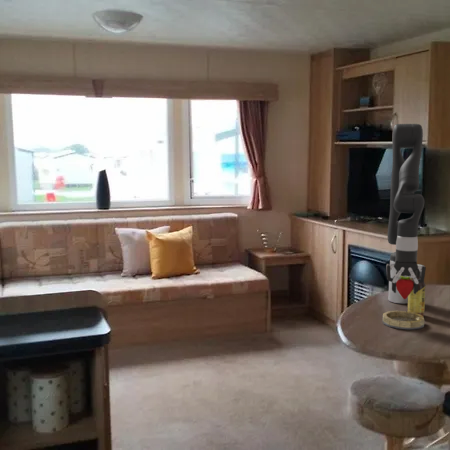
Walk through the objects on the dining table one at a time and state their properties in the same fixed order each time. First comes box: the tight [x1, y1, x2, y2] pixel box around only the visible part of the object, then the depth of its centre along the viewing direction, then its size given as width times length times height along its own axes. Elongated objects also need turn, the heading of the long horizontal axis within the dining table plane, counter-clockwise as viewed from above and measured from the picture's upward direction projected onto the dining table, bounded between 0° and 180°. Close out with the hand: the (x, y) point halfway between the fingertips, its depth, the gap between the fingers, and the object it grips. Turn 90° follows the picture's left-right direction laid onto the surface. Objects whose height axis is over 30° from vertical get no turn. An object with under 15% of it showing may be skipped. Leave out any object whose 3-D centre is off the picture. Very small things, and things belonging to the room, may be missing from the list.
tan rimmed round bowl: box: [381, 310, 425, 331], centre depth 217 cm, size 15×15×3 cm
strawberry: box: [396, 276, 414, 299], centre depth 215 cm, size 6×8×10 cm
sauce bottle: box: [407, 263, 426, 317], centre depth 227 cm, size 7×6×20 cm
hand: (404, 292), depth 216 cm, fingers closed on strawberry, 6 cm apart
